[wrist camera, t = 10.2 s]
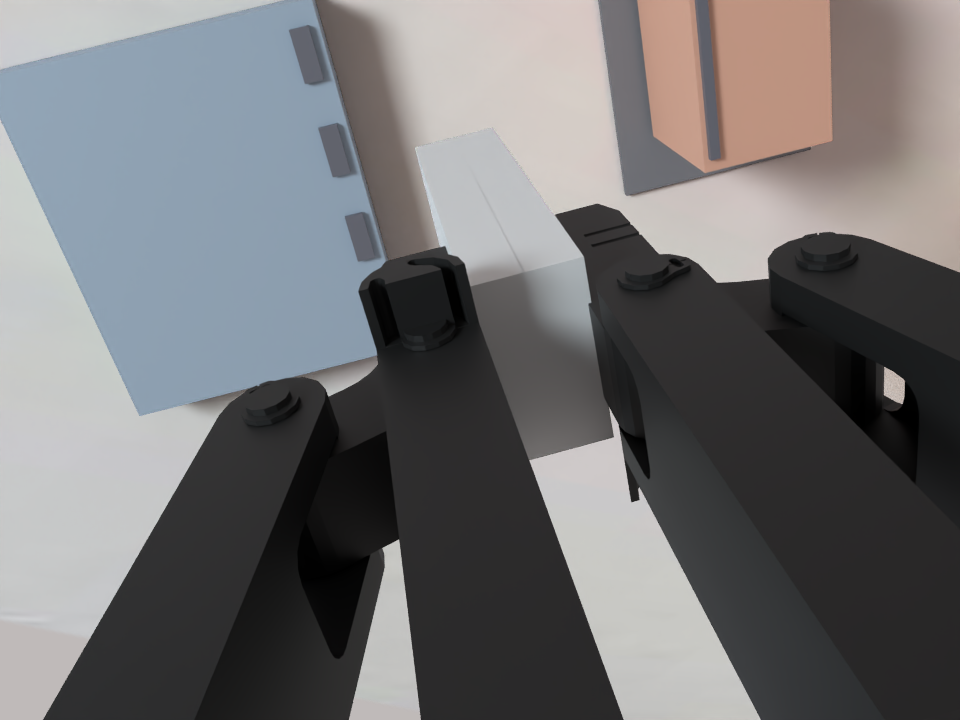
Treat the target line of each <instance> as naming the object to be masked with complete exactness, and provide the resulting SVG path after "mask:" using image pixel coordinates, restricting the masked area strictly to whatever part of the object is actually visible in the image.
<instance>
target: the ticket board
mask: <svg viewBox="0 0 960 720" xmlns="http://www.w3.org/2000/svg"><path fill="white" fill-rule="evenodd" d="M0 119H1V121H2V124H3V126H4V128H5V130H6V132H7V134H8V136H9V138H10V141H11V143H12V145H13V147H14V149H15V151H16V153H17V156H18V158H19V160H20V162H21V164H22V166H23V168H24V170H25V173H26V175H27V177H28V179H29V181H30V183H31V185H32V188H33V190H34V192H35V194H36V196H37V198H38V200H39V202H40V205H41V207H42V209H43V211H44V213H45V215H46V217H47V220H48V222H49V224H50V226H51V228H52V230H53V232H54V234H55V237H56V239H57V241H58V243H59V245H60V247H61V249H62V252H63V254H64V256H65V258H66V260H67V262H68V264H69V266H70V269H71V271H72V273H73V275H74V277H75V279H76V281H77V284H78V286H79V288H80V290H81V292H82V294H83V296H84V298H85V301H86V303H87V305H88V307H89V309H90V311H91V313H92V316H93V318H94V320H95V322H96V324H97V326H98V328H99V330H100V333H101V335H102V337H103V339H104V341H105V343H106V345H107V348H108V350H109V352H110V354H111V356H112V358H113V360H114V363H115V365H116V367H117V369H118V371H119V373H120V375H121V377H122V380H123V382H124V384H125V386H126V388H127V390H128V392H129V395H130V397H131V399H132V401H133V403H134V405H135V407H136V409H137V412H138V414H139V416H141V415H145V414H149V413H153V412H157V411H161V410H165V409H169V408H173V407H177V406H181V405H185V404H189V403H193V402H196V401H200V400H204V399H208V398H212V397H216V396H220V395H224V394H228V393H232V392H236V391H240V390H244V389H247V388H251V387H254V386H256V385H257V386H259V384H261V383H264V382H267V381H276V380H280V379H284V378H291V377H295V376H299V375H302V374H306V373H310V372H314V371H318V370H322V369H326V368H330V367H334V366H338V365H342V364H346V363H350V362H353V361H357V360H361V359H365V358H369V357H373V356H377V350H376V347H375V344H374V340H373V337H372V334H371V331H370V328H369V324H368V321H367V318H366V315H365V312H364V309H363V305H362V302H361V299H360V296H359V293H358V290H359V287H360V285H361V282H362V281H363V280H364V279H365V278H366V277H367V276H368V275H370V274H371V273H372V272H373V271H375V270H377V269H379V268H381V267H382V265H383V264H384V263H385V262H386V261H388V258H387V254H386V251H385V247H384V244H383V240H382V236H381V233H380V229H379V226H378V222H377V219H376V215H375V212H374V208H373V204H372V201H371V197H370V194H369V190H368V187H367V183H366V179H365V176H364V172H363V169H362V165H361V162H360V158H359V155H358V151H357V147H356V144H355V140H354V137H353V133H352V130H351V126H350V123H349V119H348V115H347V112H346V108H345V105H344V101H343V98H342V94H341V91H340V87H339V83H338V80H337V76H336V73H335V69H334V66H333V62H332V59H331V55H330V51H329V48H328V44H327V41H326V37H325V34H324V30H323V26H322V23H321V19H320V16H319V12H318V9H317V5H316V2H315V0H284V1H280V2H276V3H272V4H268V5H264V6H260V7H255V8H251V9H247V10H243V11H239V12H235V13H231V14H227V15H223V16H219V17H214V18H210V19H206V20H202V21H198V22H194V23H190V24H186V25H182V26H177V27H173V28H169V29H165V30H161V31H157V32H153V33H149V34H145V35H141V36H136V37H132V38H128V39H124V40H120V41H116V42H112V43H108V44H104V45H99V46H95V47H91V48H87V49H83V50H79V51H75V52H71V53H67V54H63V55H58V56H54V57H50V58H46V59H42V60H38V61H34V62H30V63H26V64H21V65H17V66H13V67H9V68H5V69H2V70H0Z"/></svg>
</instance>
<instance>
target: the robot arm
mask: <svg viewBox="0 0 960 720" xmlns="http://www.w3.org/2000/svg"><path fill="white" fill-rule="evenodd" d="M415 150H416V154H417V158H418V162H419V166H420V170H421V174H422V178H423V182H424V185H425V189H426V193H427V197H428V201H429V205H430V209H431V213H432V217H433V221H434V225H435V229H436V233H437V237H438V241H439V245H440V247H439V248H435V249H432V250H428V251H424V252H420V253H416V254H413V255H409V256H405V257H401V258H397V259H393V260H390V261H386V262H385V263H384V264H383V265H382V267H381V268H379V269H377V270H375V271H373V272H372V273H371V274H370V275H368V276H367V277H366V278H365V279H364V280H363V281H362V282H361V285H360V287H359V290H358V293H359V296H360V299H361V302H362V305H363V309H364V312H365V315H366V318H367V321H368V324H369V328H370V331H371V334H372V337H373V340H374V344H375V347H376V350H377V358H378V365H377V366H376V367H375V369H374V370H373V371H372V372H371V373H370V374H369V375H367V376H366V377H364V378H363V379H362V380H360V381H359V382H357V383H356V384H354V385H352V386H350V387H348V388H346V389H344V390H342V391H340V392H338V393H336V394H333V395H331V396H329V397H328V395H327V392H326V389H325V388H324V387H323V386H322V385H321V384H320V383H319V381H316V380H312V379H309V378H305V377H301V378H284V379H280V380H276V381H267V382H264V383H261V384H259V385H260V386H258V387H257V385H256V386H254V387H252V388H250V389H248V390H247V391H246V392H245V393H244V394H242V395H241V396H239V397H238V398H236V399H235V400H234V401H232V402H231V403H229V405H228V406H227V407H226V408H225V409H224V410H223V412H222V413H221V414H220V415H219V417H218V418H217V420H216V422H215V423H214V425H213V427H212V429H211V430H210V432H209V434H208V436H207V437H206V439H205V441H204V442H203V444H202V446H201V448H200V449H199V451H198V453H197V455H196V456H195V458H194V460H193V461H192V463H191V465H190V467H189V468H188V470H187V472H186V474H185V475H184V477H183V479H182V480H181V482H180V484H179V486H178V487H177V489H176V491H175V493H174V494H173V496H172V498H171V500H170V501H169V503H168V505H167V506H166V508H165V510H164V512H163V513H162V515H161V517H160V519H159V520H158V522H157V524H156V525H155V527H154V529H153V531H152V532H151V534H150V536H149V538H148V539H147V541H146V543H145V544H144V546H143V548H142V550H141V551H140V553H139V555H138V557H137V558H136V560H135V562H134V563H133V565H132V567H131V569H130V570H129V572H128V574H127V576H126V577H125V579H124V581H123V582H122V584H121V586H120V588H119V589H118V591H117V593H116V595H115V596H114V598H113V600H112V601H111V603H110V605H109V607H108V608H107V610H106V612H105V614H104V615H103V617H102V619H101V620H100V622H99V624H98V626H97V627H96V629H95V631H94V633H93V634H92V636H91V638H90V639H89V641H88V643H87V645H86V647H85V648H84V650H83V652H82V653H81V655H80V657H79V659H78V660H77V662H76V664H75V665H74V667H73V669H72V671H71V673H70V674H69V676H68V678H67V680H66V681H65V683H64V684H63V686H62V688H61V690H60V692H59V693H58V695H57V697H56V698H55V700H54V702H53V704H52V705H51V707H50V709H49V710H48V712H47V714H46V716H45V717H44V719H43V720H349V716H350V712H351V708H352V704H353V699H354V695H355V691H356V687H357V682H358V678H359V674H360V670H361V666H362V661H363V657H364V653H365V649H366V644H367V640H368V636H369V632H370V627H371V623H372V619H373V615H374V610H375V606H376V602H377V598H378V593H379V589H380V585H381V581H382V576H383V572H384V568H385V564H384V552H383V549H382V548H383V547H385V546H387V545H389V544H391V543H393V542H395V541H396V540H398V539H399V541H400V549H401V557H402V566H403V574H404V582H405V591H406V599H407V607H408V615H409V624H410V632H411V640H412V649H413V657H414V665H415V673H416V682H417V690H418V698H419V707H420V715H421V720H623V717H622V714H621V711H620V709H619V706H618V703H617V700H616V698H615V695H614V692H613V689H612V687H611V684H610V681H609V678H608V676H607V673H606V670H605V667H604V665H603V662H602V659H601V656H600V654H599V651H598V648H597V645H596V643H595V640H594V637H593V634H592V632H591V629H590V626H589V623H588V621H587V618H586V615H585V612H584V610H583V607H582V604H581V601H580V599H579V596H578V593H577V590H576V588H575V585H574V582H573V579H572V577H571V574H570V571H569V568H568V566H567V563H566V560H565V557H564V555H563V552H562V549H561V547H560V544H559V541H558V538H557V536H556V533H555V530H554V527H553V525H552V522H551V519H550V516H549V514H548V511H547V508H546V505H545V503H544V500H543V497H542V494H541V492H540V489H539V486H538V483H537V481H536V478H535V475H534V472H533V470H532V467H531V464H530V461H529V460H532V459H536V458H539V457H543V456H547V455H550V454H554V453H558V452H561V451H565V450H569V449H572V448H576V447H580V446H584V445H587V444H591V443H595V442H598V441H602V440H606V439H609V438H613V437H614V435H613V429H612V423H611V417H610V411H609V407H610V409H611V411H612V413H613V415H614V417H615V418H616V420H617V422H618V424H619V429H620V435H621V441H622V448H623V454H624V460H625V466H626V472H627V479H628V485H629V491H630V497H631V502H634V501H638V500H639V492H638V488H639V487H640V489H641V490H642V492H643V494H644V496H645V498H646V500H647V502H648V504H649V506H650V508H651V510H652V512H653V513H654V515H655V517H656V519H657V521H658V523H659V525H660V527H661V529H662V531H663V533H664V535H665V536H666V538H667V540H668V542H669V544H670V546H671V548H672V550H673V552H674V554H675V556H676V558H677V559H678V561H679V563H680V565H681V567H682V569H683V571H684V573H685V575H686V577H687V579H688V581H689V582H690V584H691V586H692V588H693V590H694V592H695V594H696V596H697V598H698V600H699V602H700V604H701V605H702V607H703V609H704V611H705V613H706V615H707V617H708V619H709V621H710V623H711V625H712V627H713V628H714V630H715V632H716V634H717V636H718V638H719V640H720V642H721V644H722V646H723V648H724V650H725V651H726V653H727V655H728V657H729V659H730V661H731V663H732V665H733V667H734V669H735V671H736V673H737V674H738V676H739V678H740V680H741V682H742V684H743V686H744V688H745V690H746V692H747V694H748V696H749V697H750V699H751V701H752V703H753V705H754V707H755V709H756V711H757V713H758V715H759V717H760V719H761V720H960V273H959V272H957V271H954V270H951V269H949V268H946V267H943V266H941V265H938V264H935V263H933V262H930V261H927V260H925V259H922V258H919V257H916V256H914V255H911V254H908V253H906V252H903V251H900V250H898V249H895V248H892V247H890V246H887V245H884V244H882V243H879V242H876V241H874V240H871V239H867V238H863V237H859V236H855V235H847V234H835V233H833V232H824V233H819V235H817V233H815V234H809V235H805V236H804V237H803V238H799V239H796V240H792V241H789V242H787V243H785V244H783V245H781V246H780V247H778V248H776V249H774V251H773V252H772V254H771V255H770V256H769V258H768V272H769V279H762V280H752V281H742V282H728V283H716V281H715V280H714V279H713V278H712V277H711V276H710V275H709V274H708V273H707V272H706V271H705V270H704V269H703V268H702V267H701V266H700V265H699V264H697V263H696V262H694V261H692V260H691V259H689V258H687V257H682V256H677V255H672V254H658V253H657V252H656V251H655V249H654V248H653V247H652V246H651V245H650V244H649V243H648V242H647V241H646V240H645V238H644V237H643V236H642V235H639V232H638V231H637V230H636V229H635V228H634V226H633V225H630V222H629V221H628V220H627V219H626V218H625V217H624V215H623V214H622V213H621V212H620V211H618V210H615V209H612V208H609V207H606V206H603V205H600V204H594V205H590V206H586V207H583V208H579V209H575V210H571V211H567V212H563V213H560V214H556V215H554V214H553V212H552V211H551V209H550V208H549V206H548V205H547V204H546V202H545V201H544V199H543V198H542V196H541V195H540V194H539V192H538V191H537V189H536V188H535V187H534V185H533V184H532V182H531V181H530V179H529V178H528V177H527V175H526V174H525V172H524V171H523V170H522V168H521V167H520V165H519V164H518V162H517V161H516V160H515V158H514V157H513V155H512V154H511V152H510V151H509V150H508V148H507V147H506V145H505V144H504V143H503V141H502V140H501V138H500V137H499V135H498V134H497V133H496V131H495V130H494V128H493V127H492V128H488V129H484V130H480V131H477V132H473V133H469V134H465V135H461V136H457V137H453V138H449V139H446V140H442V141H438V142H434V143H430V144H426V145H422V146H418V147H415ZM884 367H886V368H888V369H890V370H892V371H894V372H895V373H896V374H898V375H899V376H900V377H902V378H903V379H904V380H905V397H904V401H903V404H900V403H897V402H895V401H893V400H891V399H890V398H888V397H886V396H884Z"/></svg>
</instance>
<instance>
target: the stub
mask: <svg viewBox="0 0 960 720" xmlns="http://www.w3.org/2000/svg"><path fill="white" fill-rule="evenodd" d="M637 3H638V11H639V20H640V28H641V36H642V45H643V53H644V62H645V70H646V79H647V87H648V96H649V104H650V113H651V121H652V130H653V136H654V137H655V138H656V139H658V140H659V141H661V142H662V143H663V144H665V145H666V146H668V147H669V148H671V149H672V150H673V151H675V152H676V153H678V154H679V155H680V156H682V157H683V158H685V159H686V160H687V161H689V162H690V163H692V164H693V165H694V166H696V167H697V168H699V169H700V170H701V171H703V172H704V173H708V172H712V171H716V170H720V169H724V168H727V167H731V166H735V165H739V164H743V163H747V162H751V161H755V160H759V159H763V158H767V157H771V156H775V155H779V154H783V153H787V152H791V151H795V150H799V149H803V148H807V147H811V146H815V145H819V144H823V143H827V142H831V141H832V92H831V43H830V0H637Z"/></svg>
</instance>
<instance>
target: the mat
mask: <svg viewBox="0 0 960 720" xmlns="http://www.w3.org/2000/svg"><path fill="white" fill-rule="evenodd" d="M598 2H599V9H600V16H601V23H602V31H603V38H604V45H605V52H606V60H607V67H608V74H609V82H610V89H611V96H612V103H613V111H614V118H615V125H616V132H617V140H618V147H619V154H620V162H621V169H622V176H623V183H624V191H625V195H626V196H627V195H631V194H635V193H639V192H643V191H647V190H651V189H655V188H659V187H663V186H667V185H671V184H675V183H679V182H683V181H687V180H691V179H695V178H699V177H703V176H707V175H711V174H715V173H719V172H723V171H727V170H731V169H734V168H738V167H742V166H746V165H750V164H754V163H758V162H762V161H766V160H770V159H774V158H778V157H782V156H786V155H790V154H794V153H798V152H802V151H806V150H810V149H811V147H807V148H803V149H799V150H795V151H791V152H787V153H783V154H779V155H775V156H771V157H767V158H763V159H759V160H755V161H751V162H747V163H743V164H739V165H735V166H731V167H727V168H724V169H720V170H716V171H712V172H708V173H704V172H703V171H701V170H700V169H699V168H697V167H696V166H694V165H693V164H692V163H690V162H689V161H687V160H686V159H685V158H683V157H682V156H680V155H679V154H678V153H676V152H675V151H673V150H672V149H671V148H669V147H668V146H666V145H665V144H663V143H662V142H661V141H659V140H658V139H656V138H655V137H654V136H653V130H652V121H651V113H650V104H649V96H648V87H647V79H646V70H645V62H644V53H643V45H642V36H641V28H640V20H639V11H638V3H637V0H598Z"/></svg>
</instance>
